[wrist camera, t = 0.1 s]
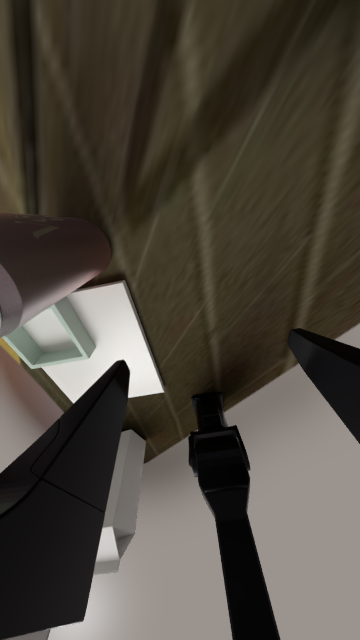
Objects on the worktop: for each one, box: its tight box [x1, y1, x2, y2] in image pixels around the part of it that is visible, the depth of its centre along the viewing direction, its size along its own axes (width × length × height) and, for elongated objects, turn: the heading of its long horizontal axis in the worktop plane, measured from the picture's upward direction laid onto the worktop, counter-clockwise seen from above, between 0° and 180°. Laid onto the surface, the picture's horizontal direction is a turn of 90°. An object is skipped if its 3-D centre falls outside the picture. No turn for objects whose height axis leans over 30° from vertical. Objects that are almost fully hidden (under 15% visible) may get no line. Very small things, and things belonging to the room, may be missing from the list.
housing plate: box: [2, 280, 164, 403], centre depth 26 cm, size 22×18×4 cm
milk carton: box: [93, 429, 146, 575], centre depth 34 cm, size 7×7×19 cm
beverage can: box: [0, 212, 111, 338], centre depth 13 cm, size 6×6×15 cm
